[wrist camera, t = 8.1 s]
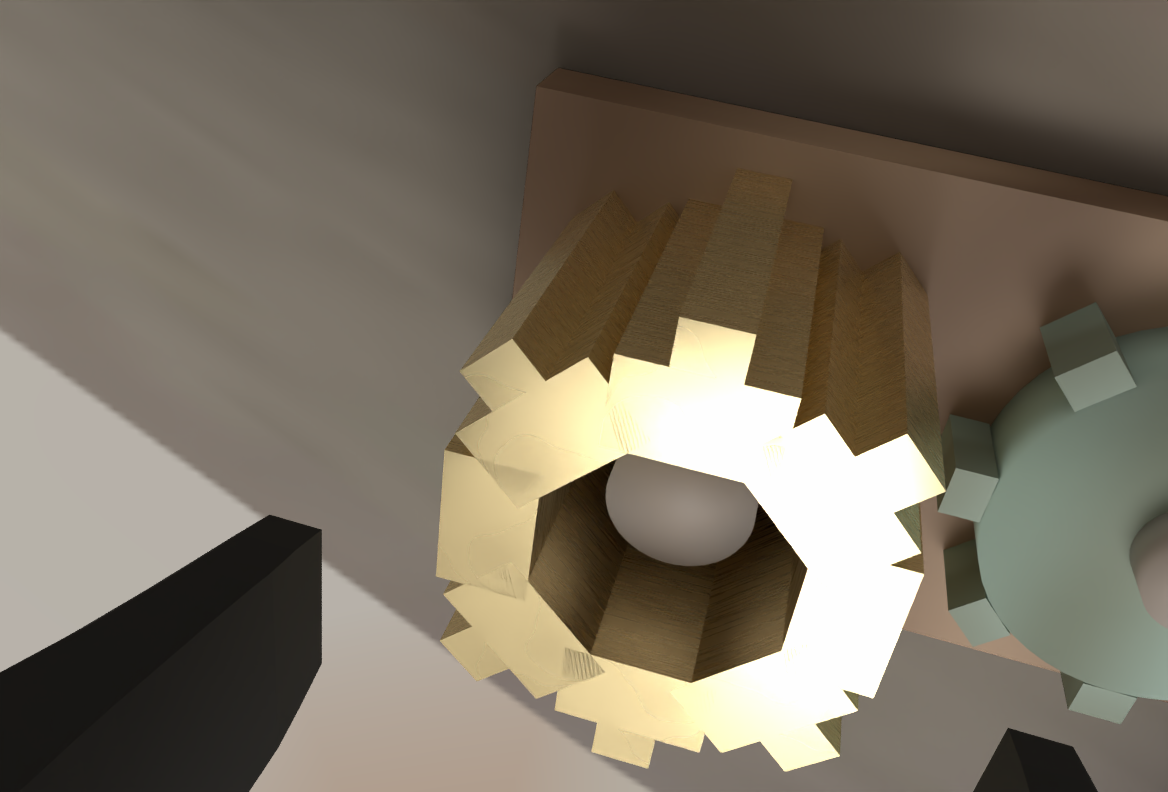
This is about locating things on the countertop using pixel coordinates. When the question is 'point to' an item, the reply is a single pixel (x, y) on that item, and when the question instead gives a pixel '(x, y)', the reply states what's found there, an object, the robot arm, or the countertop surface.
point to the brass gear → (703, 443)
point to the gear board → (936, 365)
